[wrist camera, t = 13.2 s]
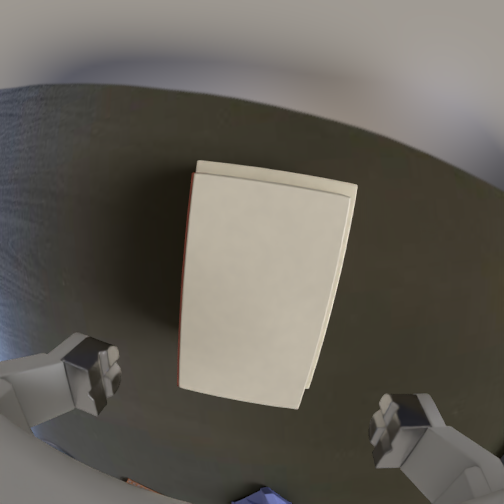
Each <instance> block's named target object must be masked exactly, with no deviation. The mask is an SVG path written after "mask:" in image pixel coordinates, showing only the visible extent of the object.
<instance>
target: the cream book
mask: <svg viewBox="0 0 504 504" xmlns="http://www.w3.org/2000/svg"><path fill="white" fill-rule="evenodd" d="M350 202H351V197H349V196H346V195H343V194H339V193H334V192H329V191H323V190H318V189H312V188H307V187H301V186H295V185H289V184H283V183H276V182H270V181H263V180H257V179H250V178H242V177H235V176H227V175H220V174H211V173H195V172H193V173H192V178H191V186H190V195H189V204H188V213H187V223H186V233H185V244H184V255H183V268H182V282H181V297H180V315H179V337H178V371H177V386H179V387H180V388H184V389H188V390H192V391H196V392H201V393H205V394H210V395H214V396H219V397H224V398H229V399H234V400H239V401H245V402H251V403H257V404H263V405H270V406H277V407H284V408H292V409H298V408H299V406H300V402H301V399H302V396H303V393H304V390H305V387H306V384H307V380H308V377H309V374H310V371H311V367H312V364H313V361H314V357H315V354H316V350H317V347H318V343H319V339H320V336H321V332H322V328H323V325H324V321H325V317H326V313H327V309H328V305H329V301H330V297H331V293H332V289H333V285H334V280H335V276H336V272H337V267H338V263H339V258H340V253H341V249H342V244H343V239H344V234H345V229H346V224H347V219H348V213H349V208H350Z"/></svg>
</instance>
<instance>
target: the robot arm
mask: <svg viewBox="0 0 504 504" xmlns="http://www.w3.org/2000/svg"><path fill="white" fill-rule="evenodd" d="M118 358H119V352H118V348H117V347H116V346H114V345H111V344H109V343H106V342H103V341H100V340H98V339H95V338H92V337H89V336H86V335H84V334H81V333H74V334H72V335H71V336H70V337H69V338H67V339H66V340H65V341H64V342H62V343H61V344H60V345H59V346H57V347H56V348H55V349H54V350H52V351H51V352H50V353H49V354H45V353H41V354H37V355H32V356H27V357H22V358H17V359H12V360H6V361H1V362H0V504H193V503H189V502H185V501H181V500H178V499H174V498H171V497H167V496H164V495H161V494H158V493H155V492H152V491H149V490H146V489H143V488H140V487H137V486H135V485H132V484H129V483H127V482H124V481H122V480H119V479H117V478H114V477H112V476H109V475H107V474H105V473H103V472H100V471H98V470H96V469H94V468H92V467H89V466H87V465H85V464H83V463H81V462H79V461H77V460H75V459H73V458H71V457H69V456H68V455H66V454H64V453H62V452H60V451H58V450H57V449H55V448H53V447H51V446H50V445H48V444H46V443H44V442H43V441H41V440H40V439H38V438H36V437H35V436H34V434H33V432H32V430H31V428H30V427H33V426H35V425H38V424H40V423H43V422H45V421H47V420H50V419H52V418H54V417H57V416H59V415H61V414H64V413H66V412H68V411H70V410H73V409H75V407H76V408H78V409H80V410H83V411H85V412H88V413H90V414H93V415H95V416H98V415H99V414H100V412H101V411H102V410H103V408H104V407H105V406H106V404H107V400H106V398H107V397H110V396H113V395H114V394H115V393H116V391H117V390H118V387H119V385H120V382H121V369H120V367H119V366H118V364H117V363H116V361H117V360H118ZM379 406H380V410H379V411H377V412H376V413H375V414H374V415H373V417H372V419H371V421H370V425H369V440H370V442H371V443H372V444H373V445H374V446H375V448H374V450H373V452H372V454H373V458H374V463H375V468H398V467H401V468H400V469H401V470H402V471H403V472H404V474H405V475H406V476H407V477H408V478H409V479H410V480H411V481H412V482H413V483H414V484H415V485H416V487H417V488H418V489H419V490H420V491H421V492H422V493H423V494H424V495H425V496H426V497H427V498H428V499H429V501H430V502H431V503H432V504H504V466H503V464H502V462H501V460H500V459H499V458H498V457H496V456H495V455H493V454H492V453H490V452H488V451H487V450H485V449H484V448H482V447H481V446H479V445H478V444H476V443H475V442H473V441H472V440H470V439H469V438H467V437H466V436H464V435H463V434H461V433H460V432H458V431H457V430H455V429H454V428H452V427H451V426H446V425H445V423H444V421H443V419H442V417H441V415H440V413H439V411H438V409H437V407H436V405H435V403H434V401H433V400H432V398H431V396H430V395H429V394H427V393H425V394H385V395H384V396H383V397H382V398H381V400H380V402H379Z"/></svg>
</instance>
